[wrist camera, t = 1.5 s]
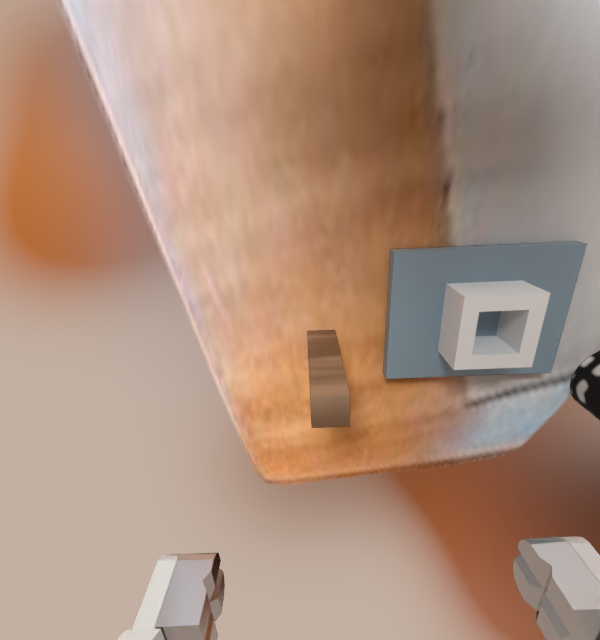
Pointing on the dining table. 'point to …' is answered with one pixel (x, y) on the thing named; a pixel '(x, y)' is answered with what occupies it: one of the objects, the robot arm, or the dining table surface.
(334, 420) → the brown wooden peg
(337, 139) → the dining table surface
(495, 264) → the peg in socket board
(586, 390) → the white-spotted black cylinder
